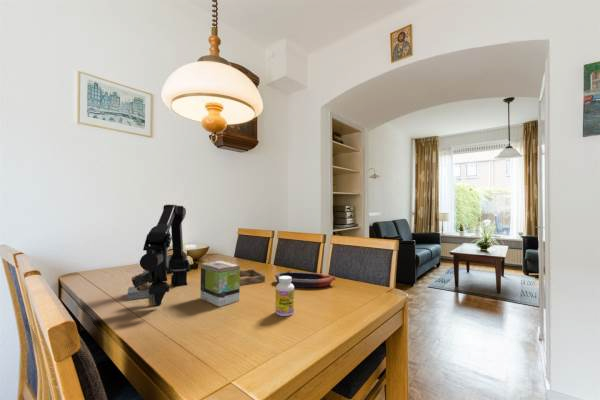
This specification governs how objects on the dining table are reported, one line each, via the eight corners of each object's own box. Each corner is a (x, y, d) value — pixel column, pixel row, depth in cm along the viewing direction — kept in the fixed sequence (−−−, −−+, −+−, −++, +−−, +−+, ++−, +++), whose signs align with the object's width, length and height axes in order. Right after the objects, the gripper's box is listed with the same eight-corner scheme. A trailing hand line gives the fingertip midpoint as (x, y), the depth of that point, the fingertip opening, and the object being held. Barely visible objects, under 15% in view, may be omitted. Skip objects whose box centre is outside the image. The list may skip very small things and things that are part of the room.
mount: (159, 290, 123) (159, 283, 123) (160, 295, 116) (160, 288, 116) (128, 294, 117) (128, 287, 118) (127, 300, 110) (127, 293, 110)
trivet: (253, 274, 152) (253, 269, 152) (264, 281, 138) (264, 275, 138) (223, 278, 144) (223, 272, 144) (232, 286, 129) (232, 280, 129)
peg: (149, 292, 119) (150, 272, 120) (149, 295, 116) (150, 274, 116) (139, 294, 117) (139, 273, 118) (139, 297, 114) (139, 275, 114)
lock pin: (159, 295, 115) (160, 287, 115) (161, 304, 105) (161, 295, 105) (152, 296, 114) (152, 288, 114) (153, 305, 103) (153, 297, 103)
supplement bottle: (276, 317, 93) (276, 280, 93) (274, 310, 99) (274, 275, 100) (295, 316, 94) (295, 279, 95) (292, 309, 101) (292, 274, 101)
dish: (280, 278, 145) (280, 269, 145) (337, 282, 137) (337, 272, 137) (269, 286, 130) (270, 276, 130) (333, 291, 122) (333, 280, 122)
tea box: (240, 301, 109) (240, 264, 110) (218, 307, 102) (218, 268, 103) (220, 292, 120) (221, 259, 120) (199, 298, 112) (199, 262, 113)
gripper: (134, 261, 105) (133, 302, 105) (132, 271, 89) (131, 319, 88) (166, 259, 111) (165, 297, 110) (169, 268, 94) (168, 313, 94)
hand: (157, 306), depth 101 cm, fingers closed
